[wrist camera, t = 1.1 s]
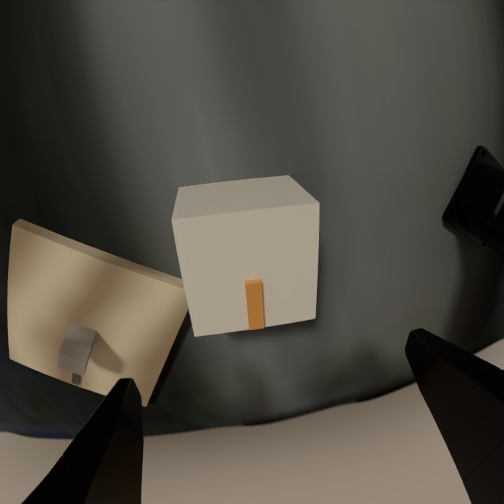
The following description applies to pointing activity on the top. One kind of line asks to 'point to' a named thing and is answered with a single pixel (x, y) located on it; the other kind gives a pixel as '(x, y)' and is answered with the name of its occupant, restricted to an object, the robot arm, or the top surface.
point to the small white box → (247, 253)
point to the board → (89, 312)
